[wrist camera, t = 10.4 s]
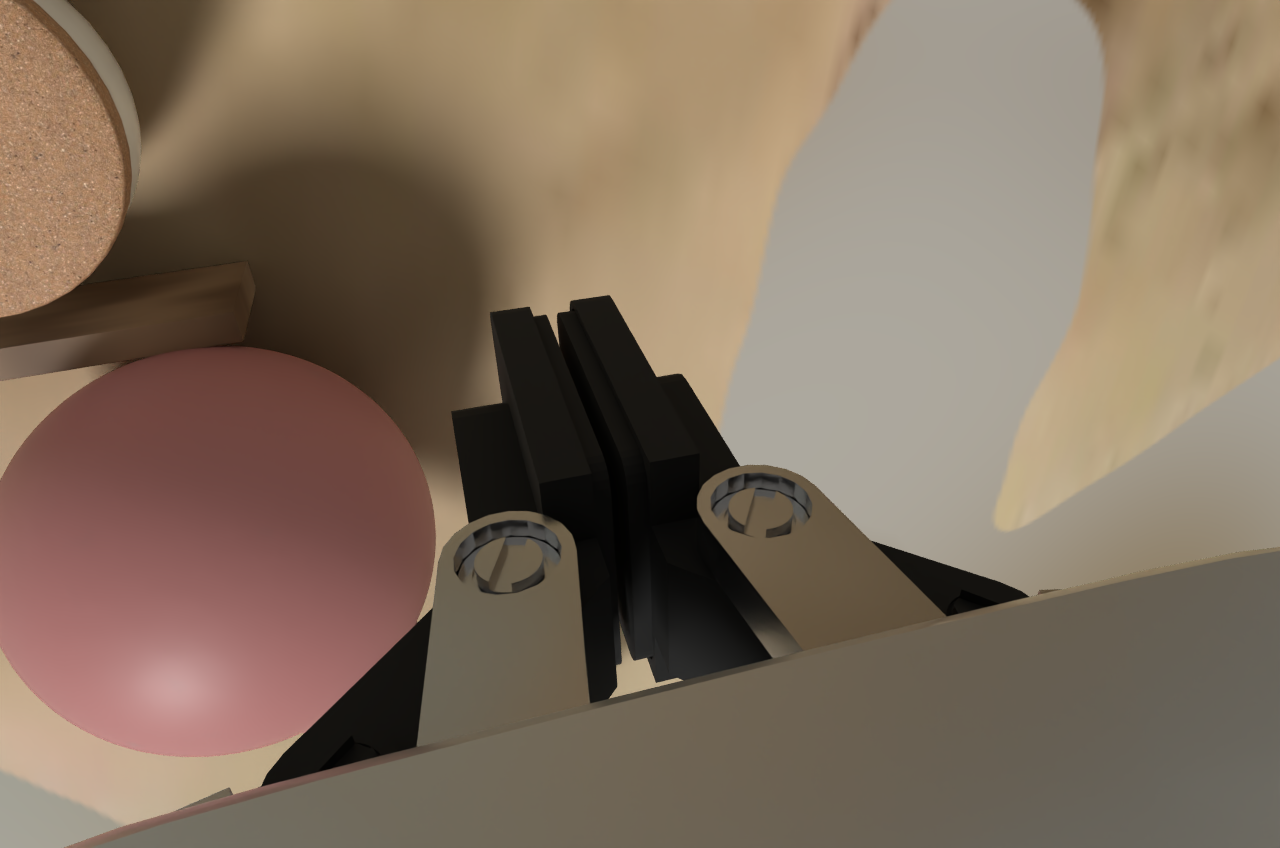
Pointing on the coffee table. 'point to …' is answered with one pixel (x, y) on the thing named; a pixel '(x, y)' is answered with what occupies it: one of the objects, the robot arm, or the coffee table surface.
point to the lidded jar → (59, 152)
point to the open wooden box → (129, 320)
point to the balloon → (210, 550)
